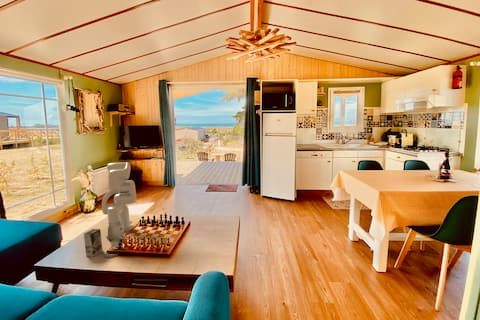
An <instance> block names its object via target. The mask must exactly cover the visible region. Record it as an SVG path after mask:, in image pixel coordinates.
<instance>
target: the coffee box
mask: <svg viewBox="0 0 480 320" xmlns="http://www.w3.org/2000/svg"><path fill="white" fill-rule="evenodd" d="M83 240H84V247H85V256H86V257H95V256H97V255H98V254H100V253H101V252H102V251H103V244H102V243H103V242H102V233H101V229H99V228H95V229H94V228H92V229H91V230H89V231H87V232H85V233H84V234H83Z"/></svg>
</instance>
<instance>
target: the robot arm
mask: <svg viewBox="0 0 480 320" xmlns="http://www.w3.org/2000/svg"><path fill="white" fill-rule="evenodd" d="M131 168H132V167H131V163H130V162H128V161H123V162H121V161H119V162H110V163H108V164H107V165H106V169H107V171H108V190H107V191H106V193H105V194H104V195H103V196H102V200H101V210H102V211H101V212H102V214H104V215H107V222H108V225H107V236H105V237H106V238H105V239H106V240H108V241H109V243H110V244H111V241H112V240H114V239H118V241H119V246H120V245H122V246H123V242H124V240H126V236H125V233H124V232H128V231H130V230H132V229H133V225H131V224H132V223H133V221H132V220H130V212H129V208H128V206H127V205H129V204H135V203H136V202H137V191H136V184H135V181H134V180H132V179H130V180H129V178H130V176H131V175H130V174H131ZM113 195H114V196H113ZM111 196H113V202H114V203H107V201H108V200H109V198H110V197H111ZM120 240H121V241H120Z"/></svg>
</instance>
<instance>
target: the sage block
mask: <svg viewBox="0 0 480 320" xmlns="http://www.w3.org/2000/svg"><path fill="white" fill-rule="evenodd" d="M120 241H121V240H120ZM110 246H111V249H112V248H113V247H119V241H118V239H114V240H112V241H111V243H110Z"/></svg>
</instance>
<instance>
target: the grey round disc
mask: <svg viewBox="0 0 480 320" xmlns="http://www.w3.org/2000/svg"><path fill="white" fill-rule="evenodd" d="M108 253H109V252H107V253H105V254H103V258H105V259H113V258H115V257H117V256H119V253H118V254H108Z"/></svg>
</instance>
